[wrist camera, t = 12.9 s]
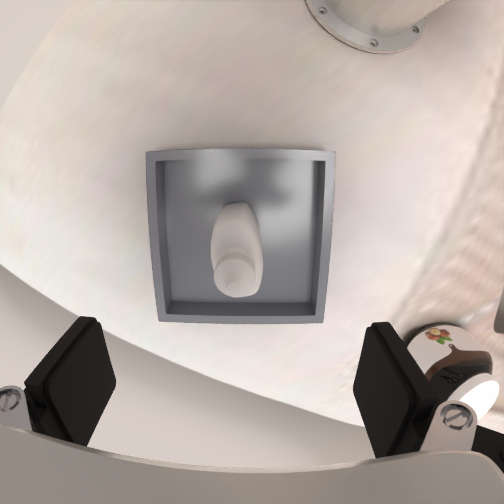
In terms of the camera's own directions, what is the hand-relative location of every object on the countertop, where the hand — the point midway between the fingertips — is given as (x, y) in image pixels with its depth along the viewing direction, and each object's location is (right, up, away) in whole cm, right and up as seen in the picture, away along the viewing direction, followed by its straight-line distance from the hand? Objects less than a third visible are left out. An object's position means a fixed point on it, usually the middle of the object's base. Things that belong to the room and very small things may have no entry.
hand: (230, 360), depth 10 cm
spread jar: (+22, -10, +24) cm, 34 cm away
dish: (0, +5, +19) cm, 20 cm away
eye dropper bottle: (0, +5, +18) cm, 19 cm away
